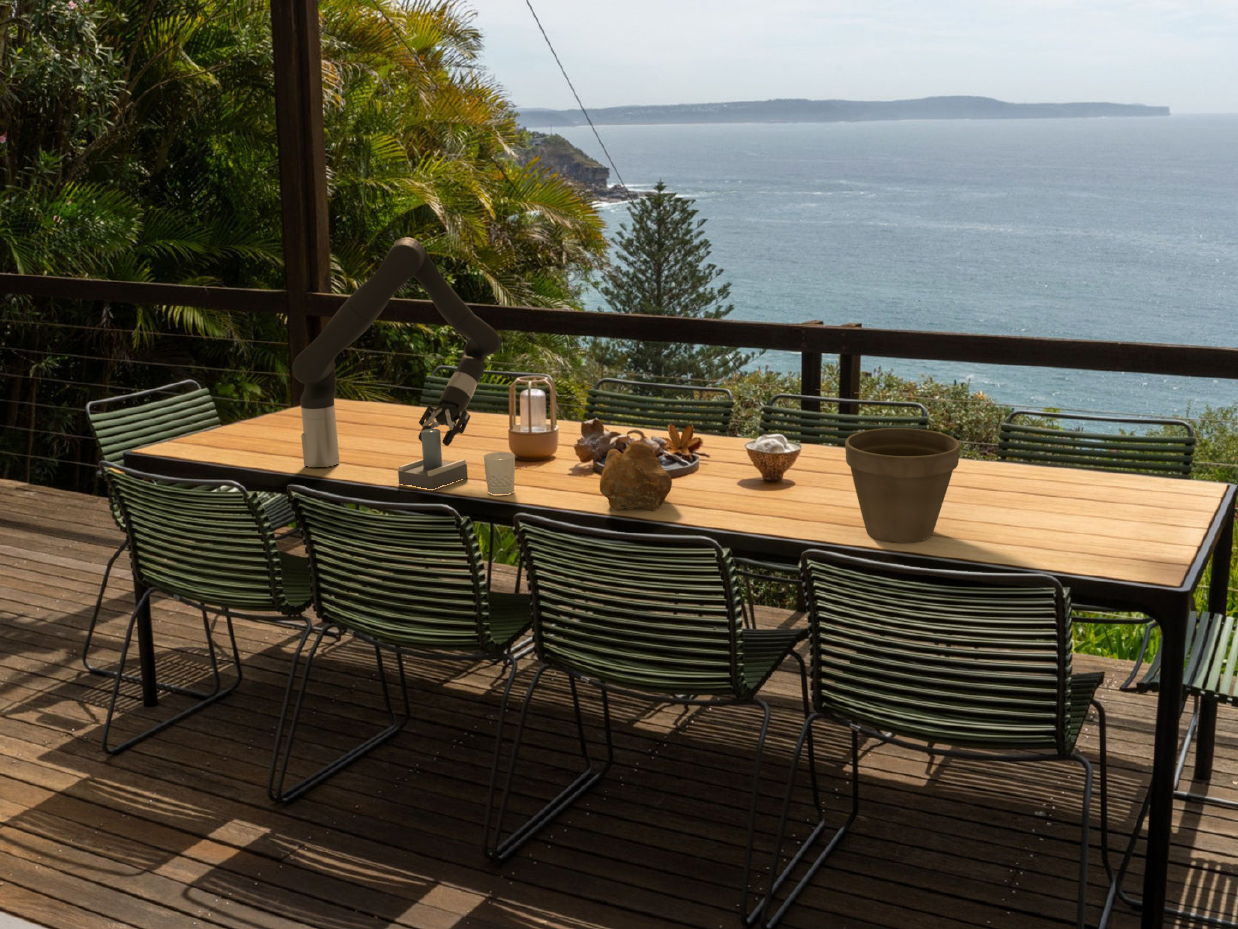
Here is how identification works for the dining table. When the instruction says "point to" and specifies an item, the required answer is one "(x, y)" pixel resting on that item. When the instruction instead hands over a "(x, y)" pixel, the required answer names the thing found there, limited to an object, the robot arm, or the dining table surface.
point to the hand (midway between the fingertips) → (433, 442)
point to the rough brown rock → (634, 478)
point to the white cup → (500, 472)
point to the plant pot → (901, 480)
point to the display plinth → (432, 474)
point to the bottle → (431, 449)
